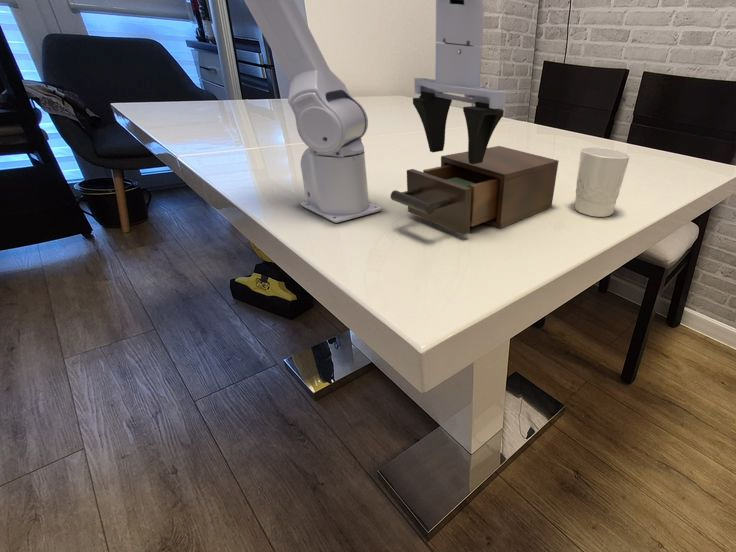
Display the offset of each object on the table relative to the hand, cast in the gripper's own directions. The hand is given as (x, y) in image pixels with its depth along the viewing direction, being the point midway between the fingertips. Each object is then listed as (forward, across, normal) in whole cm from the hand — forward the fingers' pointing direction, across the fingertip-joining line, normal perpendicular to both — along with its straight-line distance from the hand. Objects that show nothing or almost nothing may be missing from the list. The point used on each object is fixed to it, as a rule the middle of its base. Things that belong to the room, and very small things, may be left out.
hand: (455, 156), depth 57 cm
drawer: (+9, 0, 0) cm, 9 cm away
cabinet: (+10, 0, -10) cm, 14 cm away
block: (+8, 0, 0) cm, 8 cm away
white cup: (+10, -12, -22) cm, 27 cm away
